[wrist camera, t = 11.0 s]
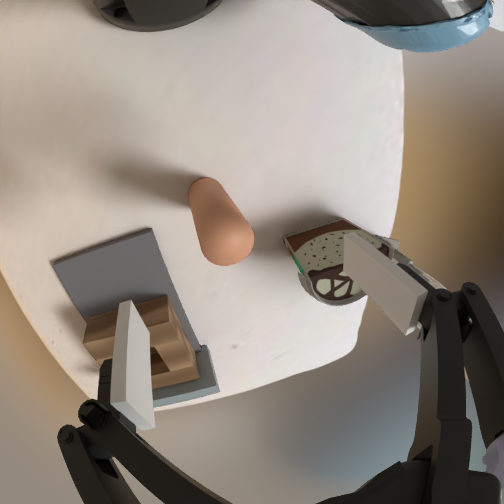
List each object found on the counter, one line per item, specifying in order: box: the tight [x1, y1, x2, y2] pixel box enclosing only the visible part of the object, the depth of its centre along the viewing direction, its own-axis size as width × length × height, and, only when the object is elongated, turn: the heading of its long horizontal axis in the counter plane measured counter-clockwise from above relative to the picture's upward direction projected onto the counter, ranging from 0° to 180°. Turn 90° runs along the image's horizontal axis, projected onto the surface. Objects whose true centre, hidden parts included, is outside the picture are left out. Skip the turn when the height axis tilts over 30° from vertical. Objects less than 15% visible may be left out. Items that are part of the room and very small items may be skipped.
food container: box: [283, 218, 395, 306], centre depth 34 cm, size 12×6×10 cm, turn 100°
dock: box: [53, 228, 220, 408], centre depth 31 cm, size 23×16×8 cm
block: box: [83, 295, 200, 390], centre depth 33 cm, size 12×12×5 cm
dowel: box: [188, 178, 254, 266], centre depth 25 cm, size 4×4×12 cm
